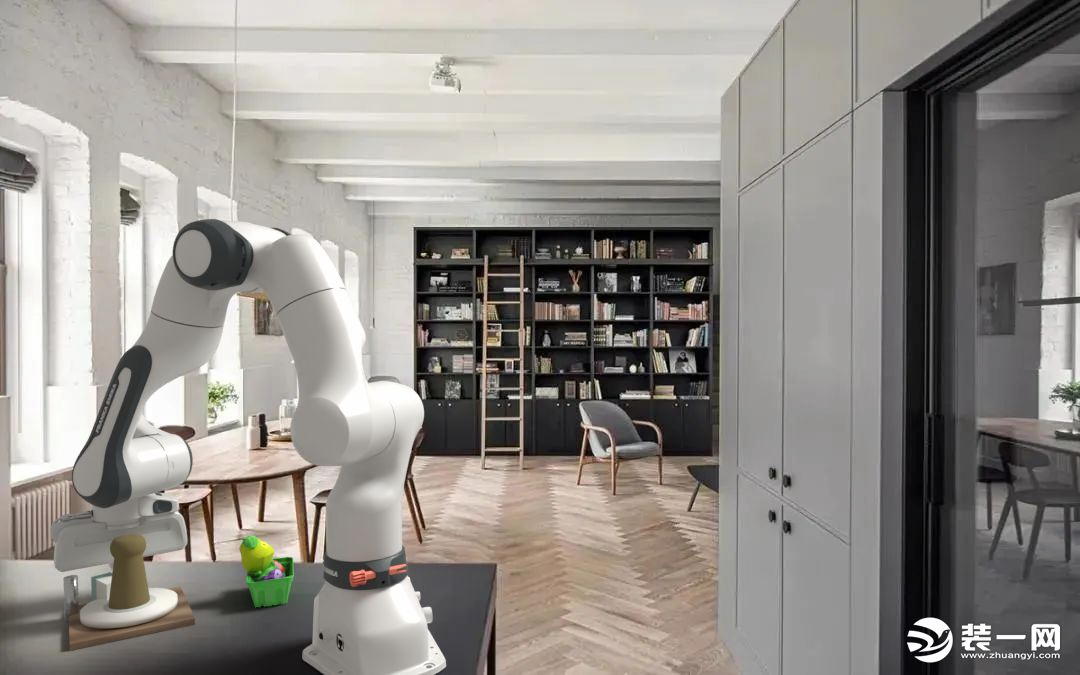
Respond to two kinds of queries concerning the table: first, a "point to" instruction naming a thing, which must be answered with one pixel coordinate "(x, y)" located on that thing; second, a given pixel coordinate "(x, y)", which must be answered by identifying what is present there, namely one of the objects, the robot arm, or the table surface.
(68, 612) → the dowel
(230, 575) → the table surface
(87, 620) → the white oval plate
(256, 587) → the fruit basket
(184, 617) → the wooden board
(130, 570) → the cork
